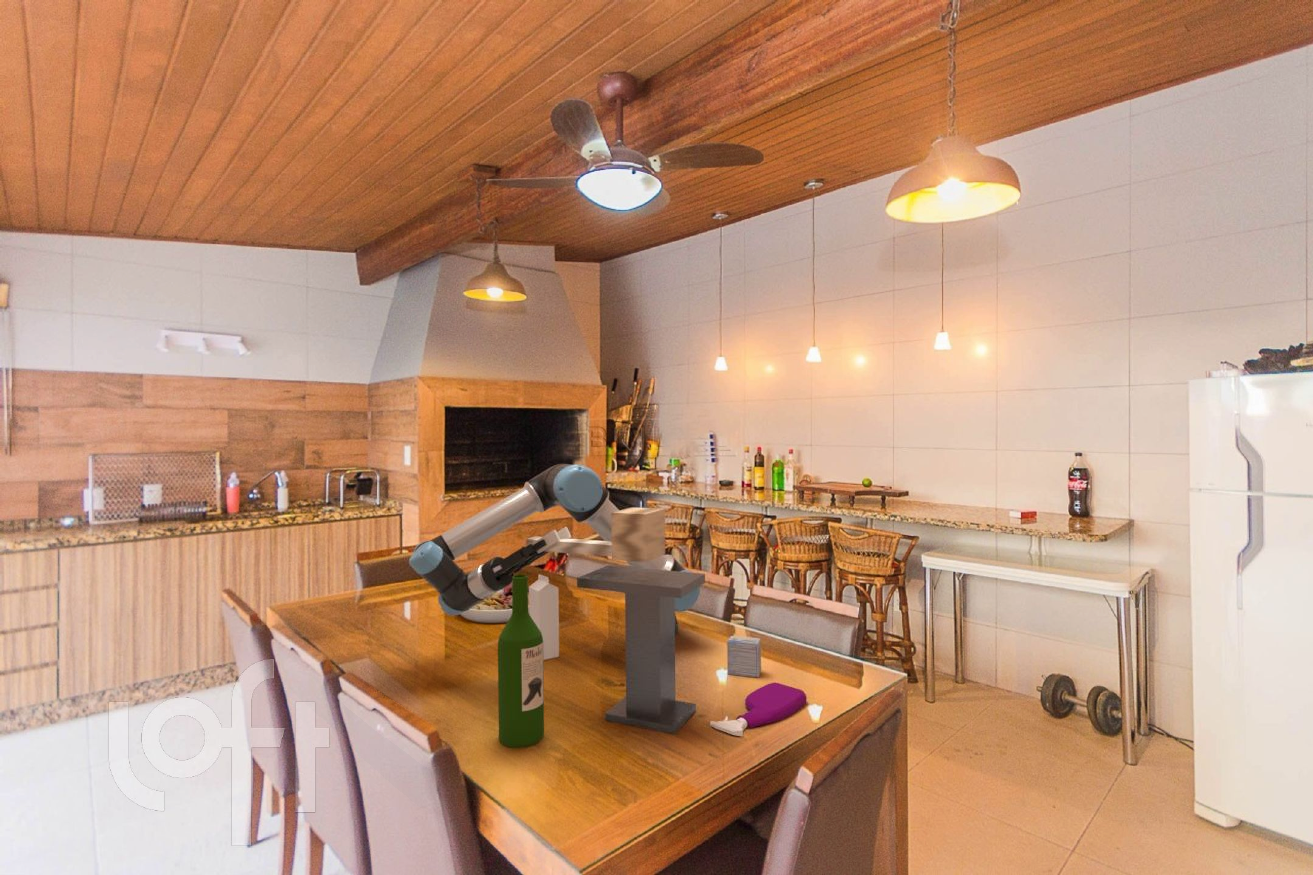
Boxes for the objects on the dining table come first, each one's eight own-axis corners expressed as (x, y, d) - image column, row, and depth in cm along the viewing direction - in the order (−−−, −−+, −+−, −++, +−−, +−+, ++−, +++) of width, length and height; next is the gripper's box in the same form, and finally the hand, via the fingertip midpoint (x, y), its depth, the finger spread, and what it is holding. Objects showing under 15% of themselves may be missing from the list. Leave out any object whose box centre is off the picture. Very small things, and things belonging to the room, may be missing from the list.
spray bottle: (811, 705, 145) (747, 746, 128) (769, 691, 153) (704, 729, 135) (811, 692, 145) (747, 731, 127) (769, 679, 153) (703, 715, 135)
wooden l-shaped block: (518, 552, 147) (517, 508, 147) (543, 544, 157) (542, 503, 156) (646, 562, 134) (645, 514, 134) (665, 553, 143) (664, 508, 143)
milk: (539, 661, 173) (538, 579, 173) (529, 655, 178) (528, 575, 178) (559, 656, 177) (558, 576, 177) (549, 650, 182) (548, 572, 182)
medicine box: (761, 672, 165) (761, 638, 164) (758, 678, 160) (758, 643, 160) (730, 668, 167) (730, 635, 167) (727, 674, 163) (726, 640, 163)
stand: (578, 717, 139) (576, 577, 139) (609, 693, 152) (608, 565, 152) (682, 738, 129) (680, 588, 129) (706, 710, 142) (704, 573, 142)
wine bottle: (522, 752, 124) (520, 583, 124) (489, 740, 129) (487, 577, 129) (553, 733, 132) (551, 574, 132) (520, 723, 137) (519, 569, 136)
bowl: (538, 626, 206) (538, 601, 206) (444, 626, 206) (443, 602, 206) (554, 601, 236) (553, 579, 236) (471, 601, 236) (471, 580, 236)
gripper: (519, 583, 164) (588, 542, 155) (474, 599, 148) (549, 555, 140) (507, 556, 165) (575, 514, 157) (461, 570, 150) (534, 524, 141)
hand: (562, 533), depth 148 cm, fingers closed on wooden l-shaped block, 4 cm apart
